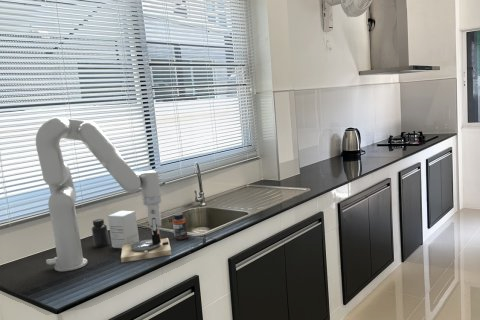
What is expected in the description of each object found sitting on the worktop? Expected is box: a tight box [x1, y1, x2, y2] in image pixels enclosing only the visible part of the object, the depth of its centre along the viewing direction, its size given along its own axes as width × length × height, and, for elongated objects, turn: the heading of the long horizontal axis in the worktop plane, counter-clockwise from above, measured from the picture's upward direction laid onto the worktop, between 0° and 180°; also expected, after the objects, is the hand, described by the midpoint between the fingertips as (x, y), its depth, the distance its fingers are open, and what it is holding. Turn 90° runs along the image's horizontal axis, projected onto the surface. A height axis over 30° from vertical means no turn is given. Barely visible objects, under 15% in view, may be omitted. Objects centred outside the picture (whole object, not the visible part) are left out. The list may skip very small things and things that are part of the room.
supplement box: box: [107, 210, 140, 249], centre depth 202 cm, size 9×9×15 cm
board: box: [120, 237, 172, 263], centre depth 190 cm, size 20×18×3 cm
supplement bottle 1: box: [91, 218, 110, 248], centre depth 205 cm, size 7×7×12 cm
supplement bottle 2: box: [172, 212, 188, 240], centre depth 205 cm, size 6×6×11 cm
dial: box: [131, 228, 162, 251], centre depth 189 cm, size 13×12×7 cm
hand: (156, 241), depth 189 cm, fingers open, 3 cm apart
